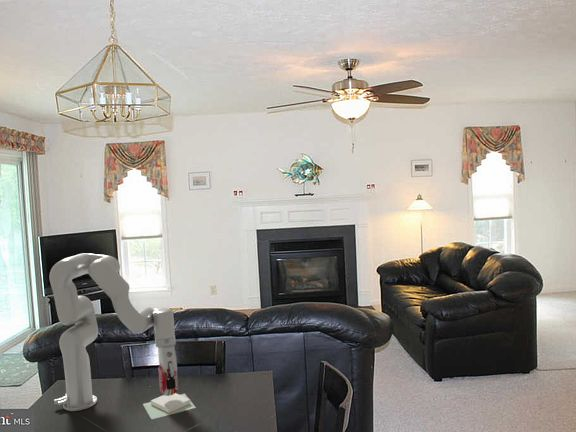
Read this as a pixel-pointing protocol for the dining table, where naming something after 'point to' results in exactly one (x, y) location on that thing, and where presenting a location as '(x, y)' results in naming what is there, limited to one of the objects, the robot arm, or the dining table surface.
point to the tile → (170, 402)
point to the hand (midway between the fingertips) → (168, 384)
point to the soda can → (164, 385)
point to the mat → (158, 413)
